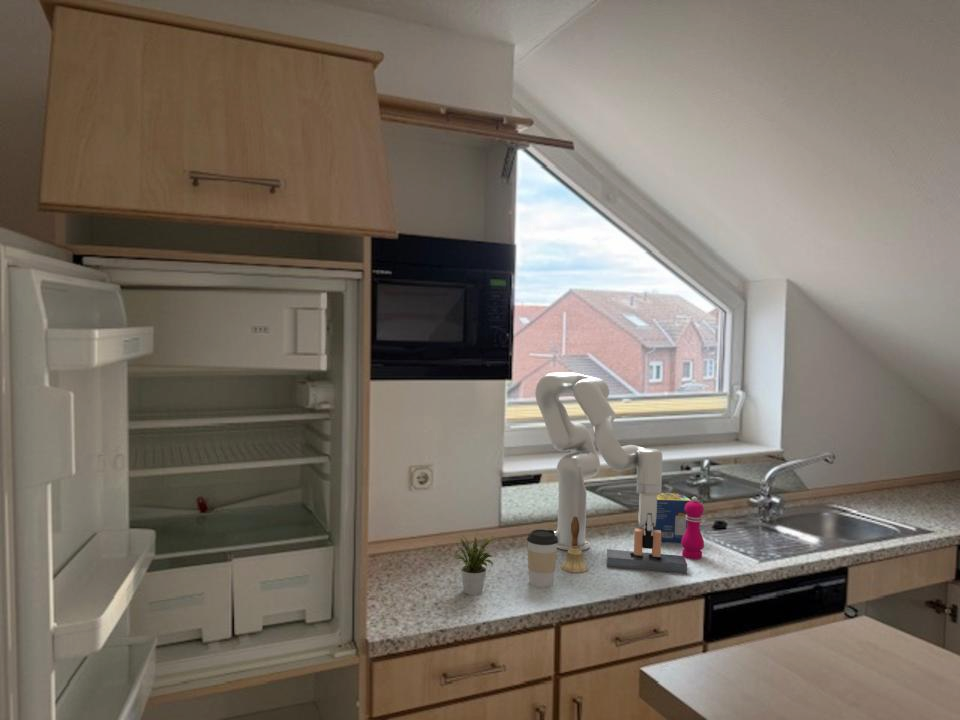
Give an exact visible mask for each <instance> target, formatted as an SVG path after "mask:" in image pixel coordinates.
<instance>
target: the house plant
mask: <svg viewBox="0 0 960 720" xmlns="http://www.w3.org/2000/svg"><path fill="white" fill-rule="evenodd" d="M478 533H479V532H478V531H477V532H476V534H475V536H474V539H473V544H472V548H470V545H469V542H468V540H467V538H466V537H465V536H464V535H462V534H460V536H458V537H457V538H458V540H460V541H461V543H462V545H461V544H458V549H459V550H460V551H461V552H462V554H463V556H464V557H463V556H462V555H461V554H460V553H459V554H458V553H456V554H454V555H452V557H453V558H455V560H459V561H461V562H462V563H464V564H465V565H463V566H462V567H461V568H460V570H461V579H462V585H463V586H462V588H463V592H464V593H465V594H467V595H471V596H475V595H477V596H478V595H481V594H482V593H483V590H484V585H485V580H486V575H487V568H488V563H489V564H491V565H492V567H494V565H493V564H494V562H493V561H492V560H490V559H487V558H491V557H492V558H493V557H494V556H493V555H492V554H490V553H489V552H485V551H486V549H488V547H491V546H492V545H493V546H494V543H492V544H490V545H489V542H490V541H491V539H493V538H494V535H493V536H490V537H489V538H487V539H486V540H485V541H484V542H483V544H482V545H480V547H479V548H478V546H479V544H480V542H482V541H483V540H484V538H482V539H481V540H480V541H479V542H478V538H477V535H478ZM461 536H462V537H463V538H464V539H465V540H464V539H463V538H462V537H461ZM446 538H448V539H450V537H447V536H446ZM451 539H452V540H454V541H456V539H455V538H454V537H451ZM488 545H489V546H488ZM459 546H460V547H459ZM487 546H488V547H487ZM486 547H487V548H486ZM464 549H465V550H464Z"/></svg>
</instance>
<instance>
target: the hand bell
mask: <svg viewBox="0 0 960 720" xmlns="http://www.w3.org/2000/svg"><path fill="white" fill-rule="evenodd" d="M571 533H572V549H569V550H567V554H566V557H565V560H564V562H563V563H562V564H561V565H560V568H561V569H562V570H563V571H565V572H567V573H573V574H575V573H577V574H581V573H585V572H588V570H589V568H588V566H587V565H586V563H585V561H584V559H583V550H582V551H581V550H579V549H578V544H577V543H578V542H577V538H578V534H579V522H578V518H577V517H573V520H572V523H571Z"/></svg>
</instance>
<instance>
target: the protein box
mask: <svg viewBox="0 0 960 720" xmlns="http://www.w3.org/2000/svg"><path fill="white" fill-rule="evenodd" d="M689 501H692V499H690V498H689V497H687V496H686V495H685V494H683V493H679V492H675V493H674V492H661V495H657V515H656V526H655V527H653V530H661V542H662V543H661V544H663V543H664V544H681V541H682V537H683V535H684V533H685V531H686V529H687V520H686V515H687V513H686V512H685V505H686V503H687V502H689ZM642 527H643V525H642V526H640V529H642ZM666 542H667V543H666Z"/></svg>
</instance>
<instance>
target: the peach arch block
mask: <svg viewBox="0 0 960 720" xmlns="http://www.w3.org/2000/svg"><path fill="white" fill-rule="evenodd" d="M633 533H634V534H633V535H634V536H633V539H634V540H633V552H634V555H641V556H642V552H643V547H642V538H643V535H644V529H641V528H634V532H633ZM651 553H652V555H653V557H661V554H662V543H661V530H653V549H651Z"/></svg>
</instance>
